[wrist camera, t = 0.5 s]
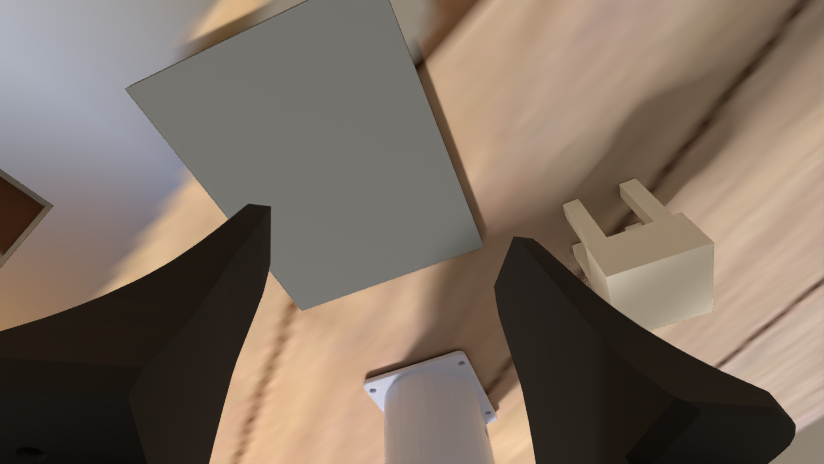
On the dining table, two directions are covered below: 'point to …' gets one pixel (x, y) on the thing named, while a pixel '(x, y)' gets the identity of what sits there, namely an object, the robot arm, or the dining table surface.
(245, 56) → the mat
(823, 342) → the dining table surface
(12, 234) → the food container
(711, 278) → the cream block with pegs
